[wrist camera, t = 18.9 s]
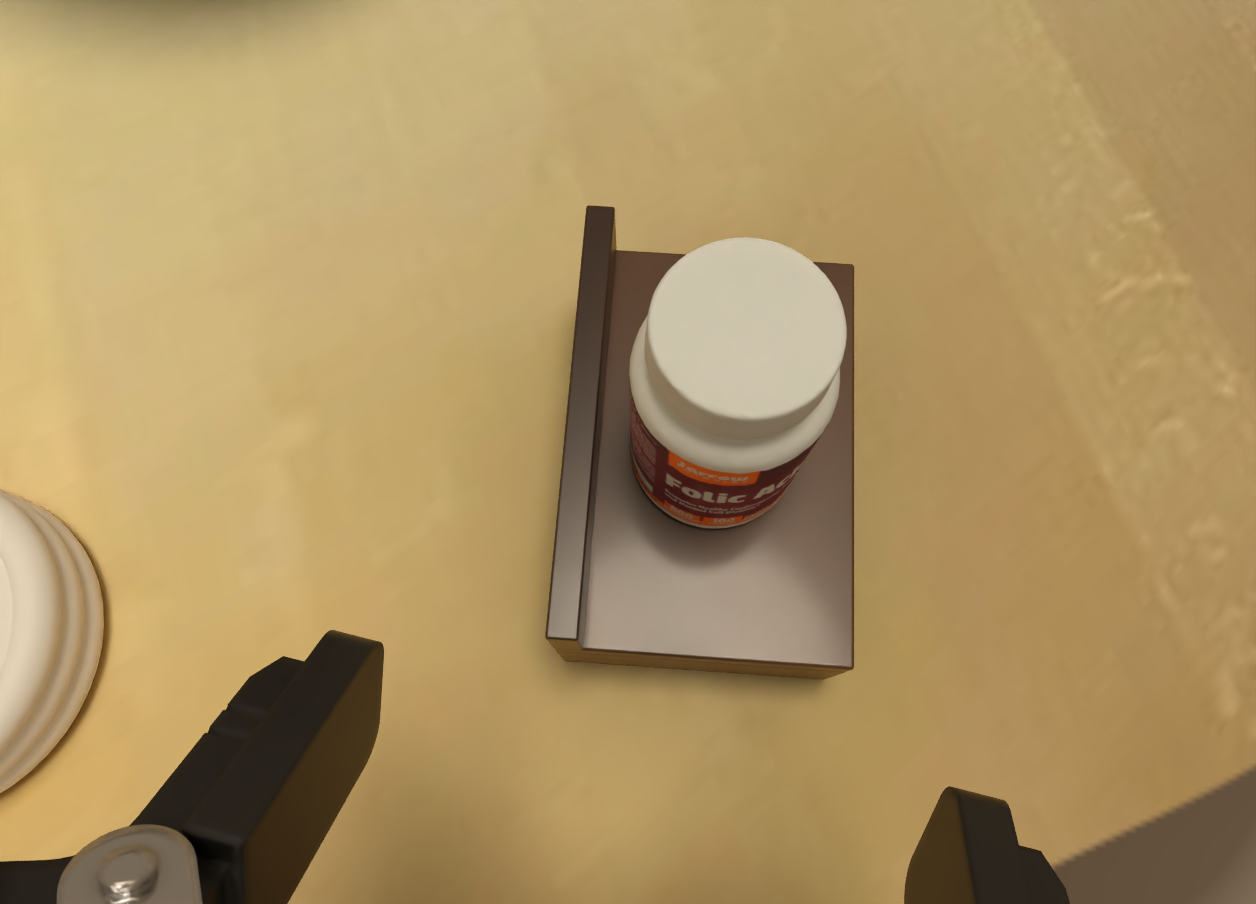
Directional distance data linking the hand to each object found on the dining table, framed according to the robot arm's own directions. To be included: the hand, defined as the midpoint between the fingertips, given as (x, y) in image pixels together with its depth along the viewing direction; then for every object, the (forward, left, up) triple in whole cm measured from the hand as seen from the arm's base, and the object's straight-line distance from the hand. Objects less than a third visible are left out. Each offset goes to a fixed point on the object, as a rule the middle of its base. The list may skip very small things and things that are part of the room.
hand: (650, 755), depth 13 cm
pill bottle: (-1, -8, -12) cm, 15 cm away
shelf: (-1, -8, -16) cm, 18 cm away
